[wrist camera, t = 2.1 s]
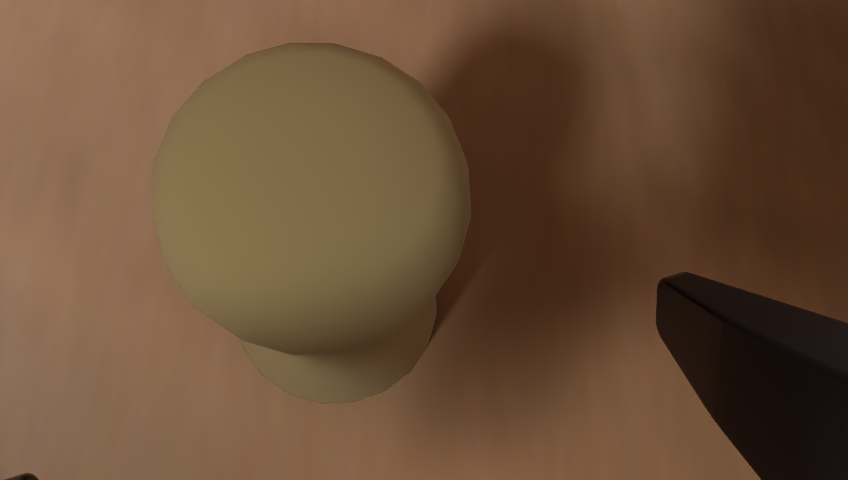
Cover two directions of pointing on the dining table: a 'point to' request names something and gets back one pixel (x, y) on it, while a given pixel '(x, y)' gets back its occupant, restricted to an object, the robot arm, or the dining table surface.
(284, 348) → the cork
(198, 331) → the dining table surface
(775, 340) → the robot arm
